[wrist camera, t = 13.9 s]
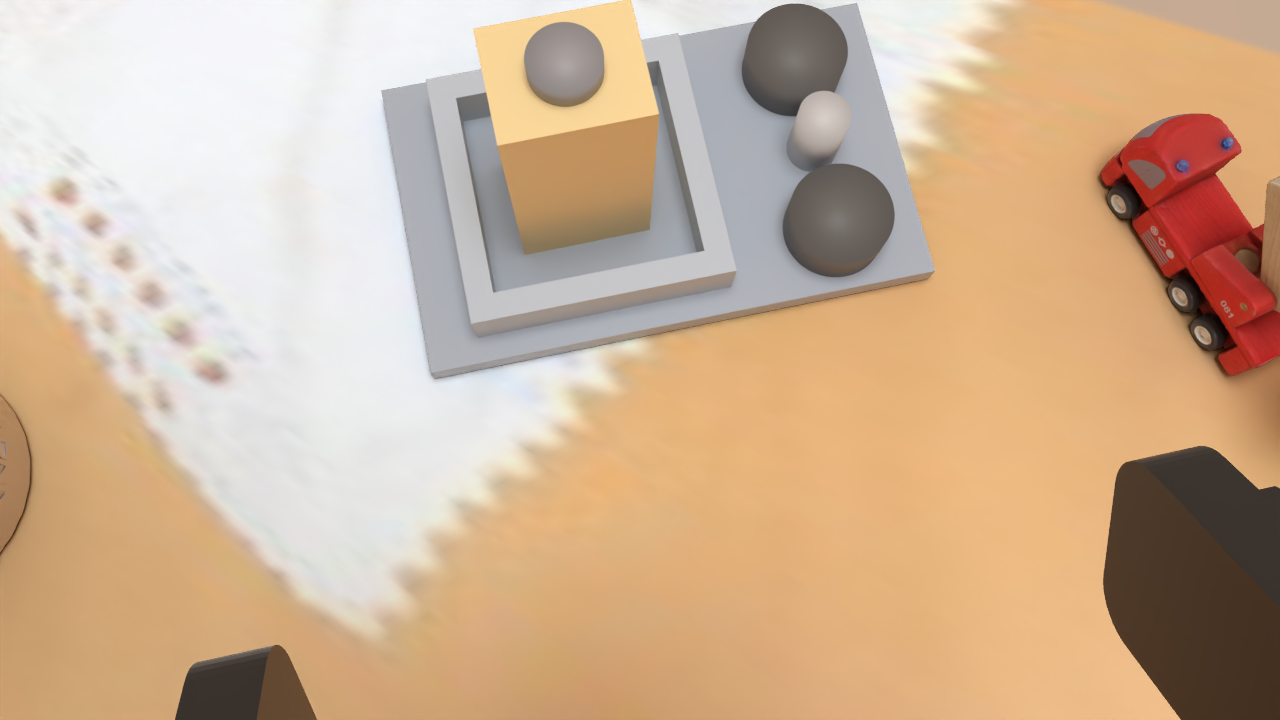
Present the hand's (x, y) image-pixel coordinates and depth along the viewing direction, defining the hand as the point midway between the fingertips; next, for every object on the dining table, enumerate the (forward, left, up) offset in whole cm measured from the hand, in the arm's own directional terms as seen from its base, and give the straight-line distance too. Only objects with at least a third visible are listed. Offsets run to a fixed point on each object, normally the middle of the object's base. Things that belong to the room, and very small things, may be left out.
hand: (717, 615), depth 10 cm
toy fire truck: (+25, +8, -31) cm, 40 cm away
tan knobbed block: (+1, +17, -30) cm, 34 cm away
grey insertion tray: (+4, +17, -31) cm, 35 cm away
